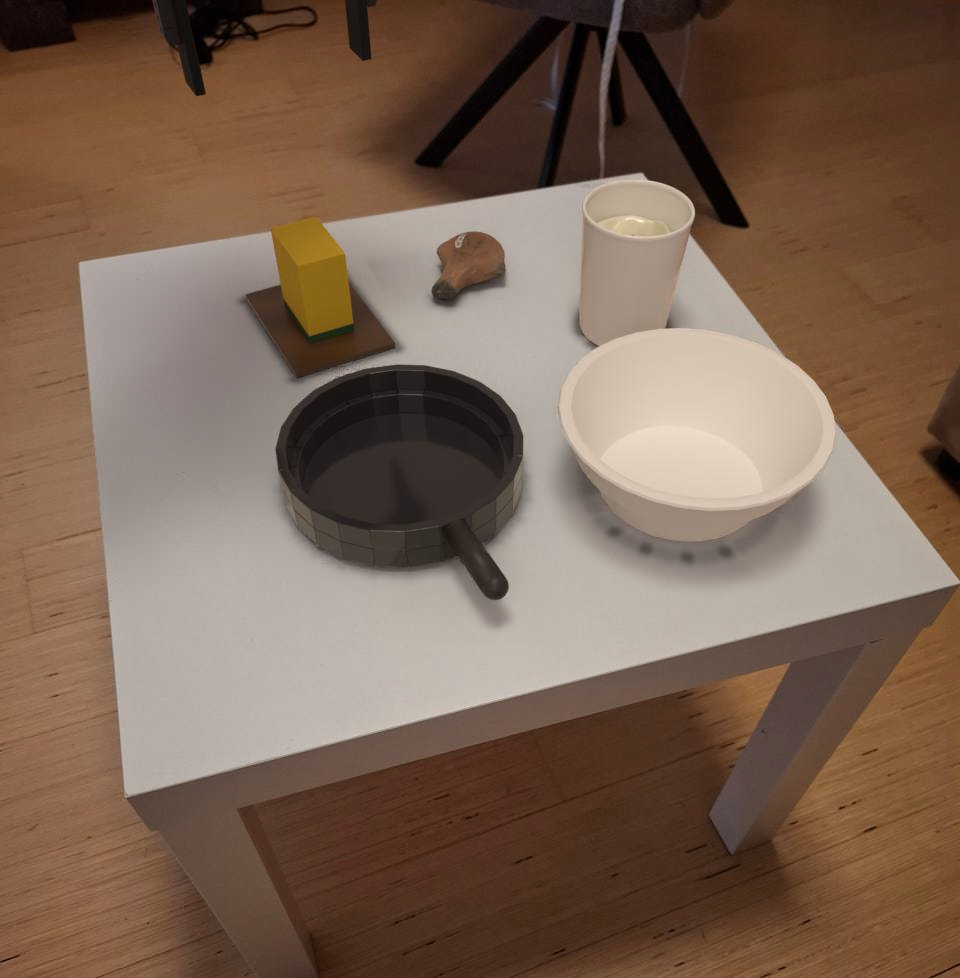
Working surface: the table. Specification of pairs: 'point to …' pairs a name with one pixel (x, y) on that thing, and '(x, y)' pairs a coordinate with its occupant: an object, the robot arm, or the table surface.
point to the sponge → (313, 279)
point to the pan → (399, 463)
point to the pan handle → (476, 560)
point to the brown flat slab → (325, 352)
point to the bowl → (694, 430)
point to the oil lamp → (468, 262)
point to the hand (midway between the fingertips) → (280, 71)
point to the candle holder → (631, 256)
